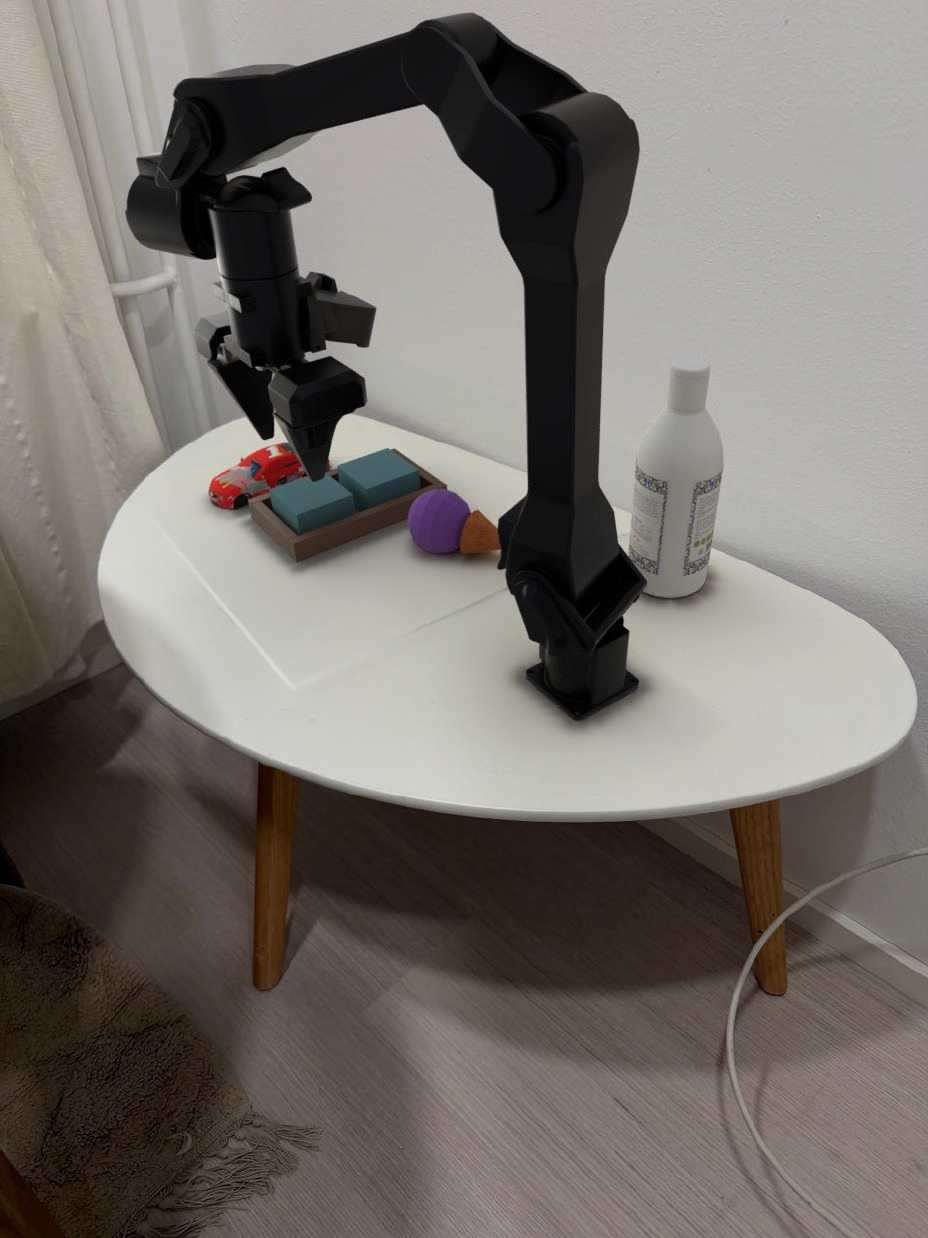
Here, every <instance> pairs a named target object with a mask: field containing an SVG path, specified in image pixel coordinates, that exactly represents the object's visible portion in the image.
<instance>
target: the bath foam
mask: <svg viewBox="0 0 928 1238" xmlns="http://www.w3.org/2000/svg"><path fill="white" fill-rule="evenodd" d="M669 371H670V372H669V381H668V392H667V403H666V405H665V407H663V408H662V409H661V411H660V412H659V413H658V414H657V416H656V417H655V418H654V419H653V420H652V421H651V423H650V424H649V426H648V427H647V428H646V430H645V432H644V434H643V436H642V438H641V440H640V443H639V446H638V450H637V454H636V460H635V470H634V471H635V472H634V484H633V493H632V494H633V495H632V507H631V517H630V518H631V519H630V528H629V529H630V531H629V540H628V541H629V542H628V543H629V544H628V554H627V555H628V556H629V558H630V559H631V560H632V562H633V563H634V564H635V566H636V567H637V568H638V570H639V571H640V572H641V573H642V575H643V576H644V577H645V579H646V580H647V585H646V587H645V589H644V590H643V592H642V593H645V594H647V595H650V596H654V597H659V598H665V599H666V598H667V599H672V598H673V599H674V598H675V599H676V598H682V597H686V596H689V595H692V594H694V593H696V592H697V591H699V590H700V589H702V587H703V585H704V584H705V582H706V580H707V576H708V570H709V563H710V557H711V551H712V545H713V538H714V531H715V525H716V524H715V523H716V518H717V511H718V505H719V498H720V492H721V486H722V477H723V471H724V460H725V459H724V456H725V455H724V446H723V442H722V437H721V434H720V431H719V430H718V428H717V426H716V424H715V422H714V420H713V419H712V417H711V415H710V413H709V411H708V410H707V408H706V403H707V397H708V388H709V382H710V375H711V362H710V361H709V360H708V359H706V358H705V357H701V356H697V355H683V356H679V357H676V358H674V359H673V360H672V361H671V364H670V370H669Z"/></svg>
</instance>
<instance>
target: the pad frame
mask: <svg viewBox="0 0 928 1238" xmlns="http://www.w3.org/2000/svg"><path fill="white" fill-rule="evenodd" d="M390 450H392V451H393V452H394V453H396V454H397V455H399V456H400V457H401V458H403V459H404V460H406V461H407V462H408V463H410V464H411V465H413V466H414V467H415V468H417V469H418V470H419V477H420V490H418V491H415V492H412V493H410V494H407V495H404V496H402V497H399V498H397V499H394V500H391V501H389V502H386V503H383V504H381V505H378V506H376V507H373V508H370V509H368V510H365V511H362V512H360V511H359V510H358V509H357V508H356V507H355V515H352V516H349V517H347V518H344V519H341V520H339V521H336V522H333V523H331V524H328V525H326V526H323V527H320V528H318V529H315V530H312V531H310V532H307V533H305V534H302V535H299V536H297V535H296V534H295V533H294V532H293V531H292V530H291V529H290V528H289V527H288V526H287V525H286V524H285V523H284V522H283V521H282V520H281V519H279V518H278V517H277V516H276V515H275V514H274V513H273V508H272V503H271V498H270V492H269V493H266V494H263V495H260V496H257V497H255V498H252V499H249V500H248V503H249V505H248V508H249V513H250V518H251V519H252V520H253V521H254V522H255V523H256V524H257V525H258V526H259V527H260V528H261V529H262V530H263V531H264V532H265V533H266V534H267V535H268V536H269V537H270V538H271V539H272V540H273V541H274V542H275V543H277V545H278V546H279V547H280V548H281V549H282V550H283V551H284V552H285V553H286V554H287V555H288V556H289V557H290V558H291V559H292V560H293V561H295V563H299V562H301V561H304V560H307V559H309V558H312V557H314V556H317V555H319V554H322V553H326V552H328V551H330V550H332V549H335V548H338V547H339V546H342V545H345V544H347V543H351V542H353V541H355V540H357V539H360V538H362V537H365V536H368V535H370V534H373V533H375V532H378V531H381V530H383V529H385V528H388V527H392V526H394V525H396V524H399V523H400V522H403V521H407V518H408V513H409V510H410V508H411V505H412V504H413V502H414V501H415V500H416V499H417V498H418V497H419V496H421V495H422V494H424V493H425V492H427V491H430V490H437V489H446V490H448V484H446V483H445V482H443V481H442V480H440V479H439V478H438V477H436V476H435V475H434V474H432V473H430V472H429V471H428V470H426V469H425V468H424V467H422V466H421V465H419V464H417V462H415V461H413V460H412V459H410V457H407V456H406V455H405V454H404V453H402V452H400V451H399V450H398V449H396V448H392V449H390ZM326 473H327V474H328V475H330V476H331V477H332V478H333V479H334V480H336V481H337V482H338V483H339V477H338V469H337V468H334V469H332V470H331V469H330V471H328V472H326Z"/></svg>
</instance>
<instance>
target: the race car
mask: <svg viewBox="0 0 928 1238" xmlns="http://www.w3.org/2000/svg"><path fill="white" fill-rule="evenodd" d="M328 471H331V461H330V459H329V458H328V463H327V468H326V472H328ZM306 476H308V475H307V474H306V472H305V470H304V469H303V467H302V465H301V464H300V462H299V460H298V458H297V457H296V455H295V453H294V451H293V450H292V448H291V446H290V444H289V442H288V441H286V442H280V443H275V444H272V445H269V446H265V447H262V448H260V449H257V450H256V451H253V452H251V453H250V454H249V455H247V456H245V457H240V462H238V464H236V465H233V466H231V467H230V468H228V469H226V470H224V471H223V472H220V473H219V474H217V475H216V476H214V477H213V478H212V479H211V481H210V483H209V486H208V497H209V500H210V502H211V503H212V504H213V505H215V506H216V507H218V508H221V509H225V510H226V509H227V510H234V509H236V510H239V509H240V508H241V509H242V508H243V507H246V506H249V503H248V500H249V499H252V498H255V497H257V496H260V495H263V494H266V493H269V489H272V488H275V487H278V486H281V485H284V484H286V483H289V482H292V481H295V480H298V479H301V478H304V477H306Z"/></svg>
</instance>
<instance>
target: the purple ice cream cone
mask: <svg viewBox="0 0 928 1238" xmlns="http://www.w3.org/2000/svg"><path fill="white" fill-rule="evenodd" d="M406 521H407V522H406V523H407V525H406V526H407V528H408V531H409V534H410V537H411V540H412V541H413V542H414V543H415V544H416V545H417V546H418V547H419V548H421V549H422V550H424V551H426V552H428V553H431V554H435V555H443V554H445V555H446V554H450V553H452V552H455V551H457V550H458V549H460V552H461V554H463V555H469V554H476V553H477V554H479V553H484V552H492V551H493V552H494V551H501V548H500V542H499V537H498V532H497V529H498V526H496V525H494V523H493V522H492V521H491V520H489V518H488V517H486V515H484V514H483V513H482V512H481V511H480V510H479V509H475V510H473V511H471V508H470V507H469V504H468V503H467V501H466V500H464V499H463V498H462V497H461V496H460V495H459V494H458V493H456V492H455V491H452V490H449V489H447V490H446V489H437V490H430V491H427V492H425V493H424V494H422V495H421V496H419V497H418V498H417V499H416V500H415V501H414V502H413V504H412V505H411V508H410V510H409V513H408V518H407V519H406Z"/></svg>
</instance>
